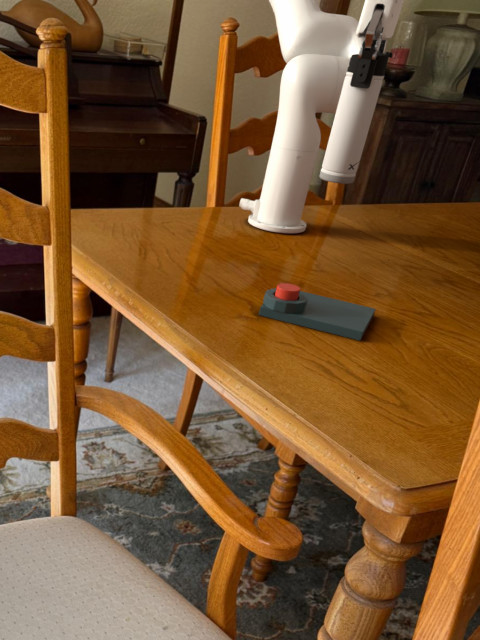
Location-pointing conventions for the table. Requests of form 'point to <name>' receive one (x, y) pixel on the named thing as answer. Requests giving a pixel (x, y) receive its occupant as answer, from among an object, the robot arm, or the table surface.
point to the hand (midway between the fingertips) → (363, 85)
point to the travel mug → (352, 124)
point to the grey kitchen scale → (319, 313)
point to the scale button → (287, 291)
